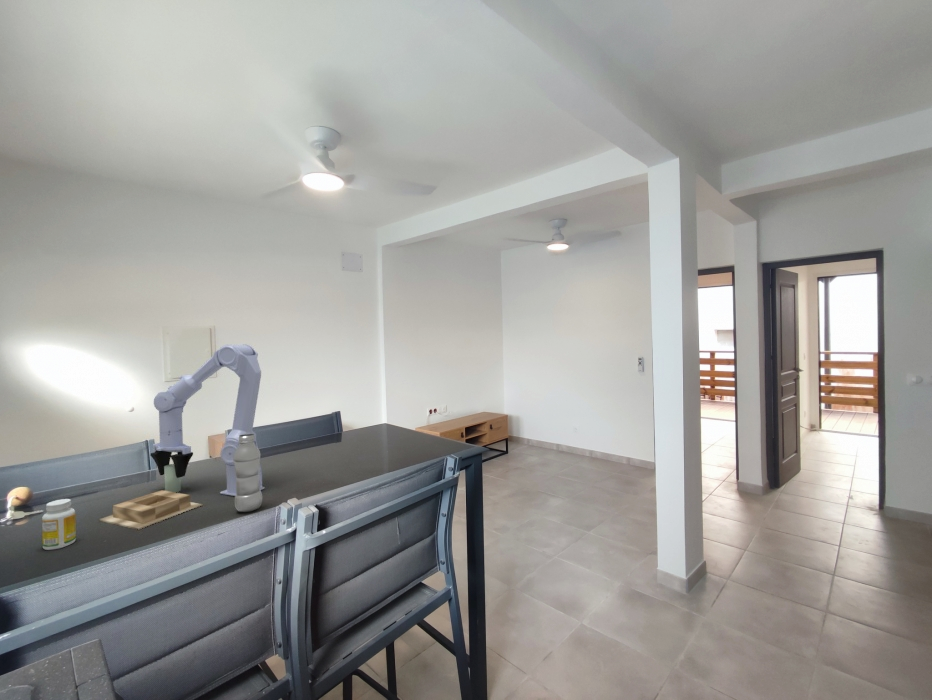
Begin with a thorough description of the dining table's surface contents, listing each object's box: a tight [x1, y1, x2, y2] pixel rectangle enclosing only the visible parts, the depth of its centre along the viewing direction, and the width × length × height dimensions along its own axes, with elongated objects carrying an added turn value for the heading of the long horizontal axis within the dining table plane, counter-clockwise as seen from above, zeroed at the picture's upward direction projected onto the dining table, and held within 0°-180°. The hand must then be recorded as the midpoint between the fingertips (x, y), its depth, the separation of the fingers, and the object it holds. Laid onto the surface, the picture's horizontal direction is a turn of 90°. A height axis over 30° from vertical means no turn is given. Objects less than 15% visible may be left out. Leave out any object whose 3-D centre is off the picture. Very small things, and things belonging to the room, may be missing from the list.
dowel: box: [164, 463, 182, 493], centre depth 128 cm, size 4×4×8 cm
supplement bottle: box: [41, 498, 77, 551], centre depth 95 cm, size 5×5×10 cm
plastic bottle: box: [233, 434, 263, 513], centre depth 112 cm, size 6×7×20 cm
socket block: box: [98, 489, 204, 531], centre depth 112 cm, size 16×16×3 cm
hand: (172, 475), depth 128 cm, fingers open, 7 cm apart
